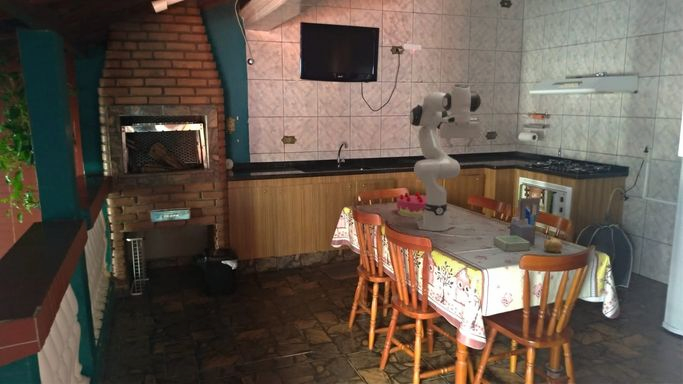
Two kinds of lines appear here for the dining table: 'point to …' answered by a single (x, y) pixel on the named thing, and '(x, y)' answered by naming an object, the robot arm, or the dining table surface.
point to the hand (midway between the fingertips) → (459, 147)
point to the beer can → (529, 217)
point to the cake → (411, 205)
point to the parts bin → (511, 243)
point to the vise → (522, 230)
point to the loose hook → (529, 201)
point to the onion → (552, 245)
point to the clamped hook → (531, 206)
